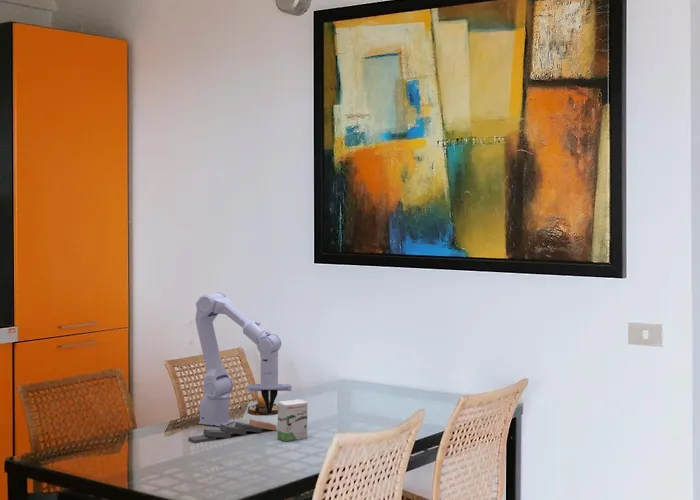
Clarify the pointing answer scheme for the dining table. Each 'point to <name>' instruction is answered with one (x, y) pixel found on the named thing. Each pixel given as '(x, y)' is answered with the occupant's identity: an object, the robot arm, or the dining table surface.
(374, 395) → the dining table surface
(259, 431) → the tile
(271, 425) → the tile
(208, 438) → the tile
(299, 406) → the ink box
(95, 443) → the dining table surface
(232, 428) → the tile
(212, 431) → the tile
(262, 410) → the burger
